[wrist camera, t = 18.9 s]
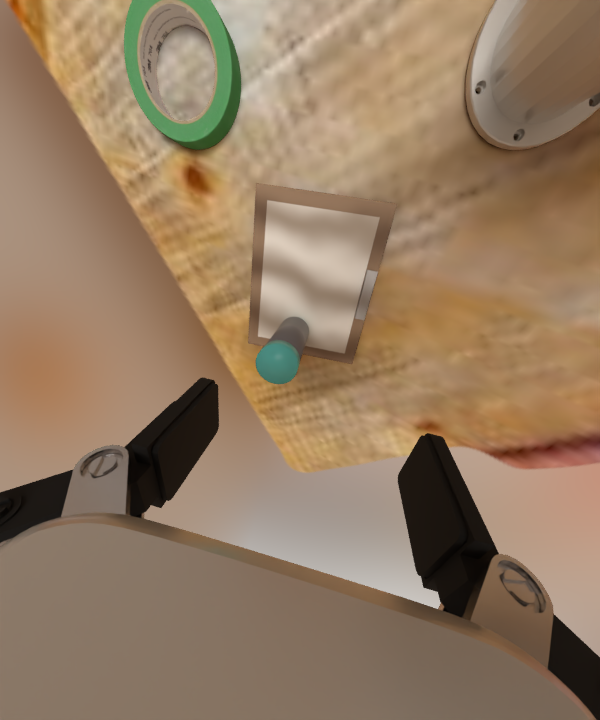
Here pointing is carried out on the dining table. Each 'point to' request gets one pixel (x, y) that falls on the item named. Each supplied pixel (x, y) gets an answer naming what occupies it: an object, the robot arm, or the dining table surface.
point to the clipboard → (315, 265)
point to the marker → (283, 351)
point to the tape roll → (141, 47)
